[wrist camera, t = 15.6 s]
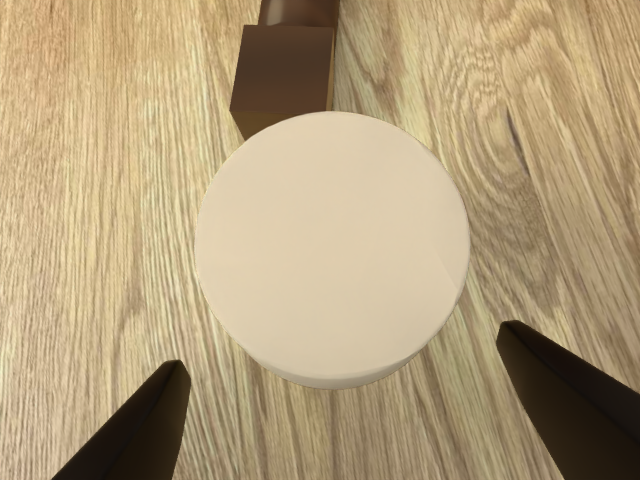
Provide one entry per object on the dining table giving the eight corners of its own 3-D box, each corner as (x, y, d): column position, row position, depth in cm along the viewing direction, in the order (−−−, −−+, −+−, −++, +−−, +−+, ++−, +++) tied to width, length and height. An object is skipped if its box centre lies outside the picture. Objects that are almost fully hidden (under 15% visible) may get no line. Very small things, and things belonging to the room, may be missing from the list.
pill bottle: (248, 269, 17) (75, 182, 6) (347, 205, 17) (371, 9, 6) (313, 377, 16) (261, 553, 4) (418, 304, 16) (621, 285, 5)
